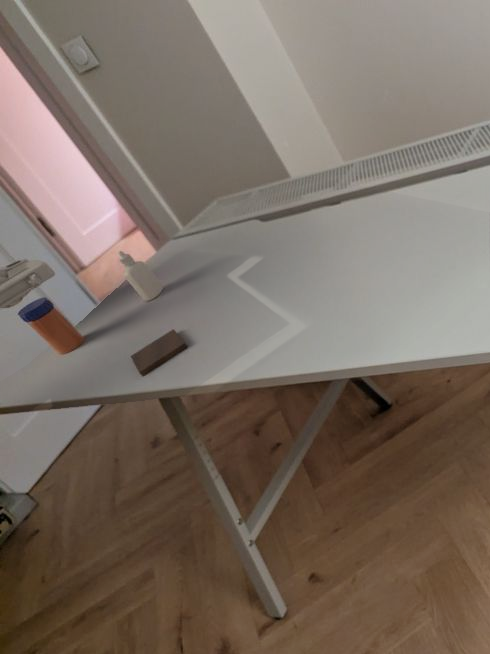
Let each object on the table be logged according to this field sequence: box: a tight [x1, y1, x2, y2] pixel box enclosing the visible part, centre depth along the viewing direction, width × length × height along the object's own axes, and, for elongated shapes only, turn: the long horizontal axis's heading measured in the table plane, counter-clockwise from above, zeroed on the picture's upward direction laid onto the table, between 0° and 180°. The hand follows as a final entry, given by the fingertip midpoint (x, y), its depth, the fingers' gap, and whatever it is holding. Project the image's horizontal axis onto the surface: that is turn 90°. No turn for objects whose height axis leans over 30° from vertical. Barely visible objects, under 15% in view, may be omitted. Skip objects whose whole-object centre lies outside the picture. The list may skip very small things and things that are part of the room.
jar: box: [26, 305, 85, 355], centre depth 116 cm, size 6×6×11 cm
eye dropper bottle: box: [118, 250, 164, 302], centre depth 124 cm, size 4×6×12 cm
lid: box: [17, 296, 55, 323], centre depth 113 cm, size 6×6×2 cm
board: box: [130, 328, 188, 377], centre depth 102 cm, size 9×9×1 cm
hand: (15, 295), depth 120 cm, fingers open, 8 cm apart
